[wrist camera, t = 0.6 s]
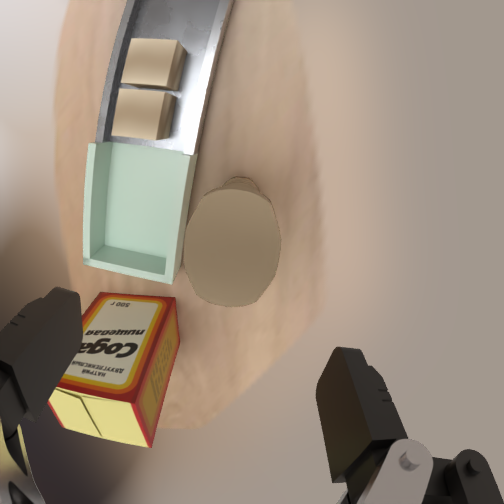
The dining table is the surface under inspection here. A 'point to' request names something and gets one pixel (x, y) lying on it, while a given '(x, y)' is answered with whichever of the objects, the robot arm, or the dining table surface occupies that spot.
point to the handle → (232, 244)
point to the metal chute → (194, 70)
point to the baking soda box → (120, 369)
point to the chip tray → (136, 209)
